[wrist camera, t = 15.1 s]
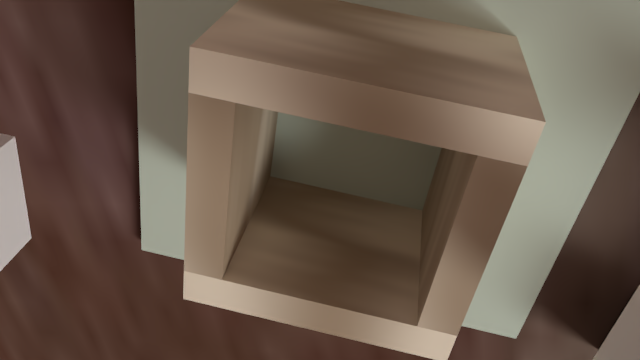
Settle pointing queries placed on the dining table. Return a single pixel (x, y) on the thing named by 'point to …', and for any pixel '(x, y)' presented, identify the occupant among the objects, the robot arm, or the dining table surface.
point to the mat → (412, 157)
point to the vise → (615, 322)
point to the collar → (341, 208)
